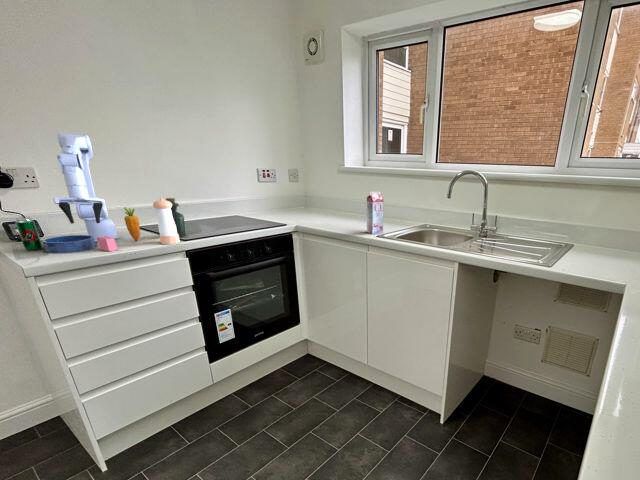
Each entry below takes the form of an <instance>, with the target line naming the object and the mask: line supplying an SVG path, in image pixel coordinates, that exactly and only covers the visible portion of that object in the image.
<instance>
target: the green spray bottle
mask: <svg viewBox="0 0 640 480" xmlns="http://www.w3.org/2000/svg"><path fill="white" fill-rule="evenodd" d="M165 200H166V201H169V202H171V203H172V208H171V212H172V217H173V220H174V222H175V225H176V229H177V234H178V235H179V239H182V238H185V237H186V236H187V234H186V225H185V224H186V223H185V216H184V215H183V214H182V213H180V212H178V211H177V209H178V207H179V206H180V204H179V202H176V198H175V197H166V198H165Z"/></svg>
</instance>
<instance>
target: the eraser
mask: <svg viewBox="0 0 640 480" xmlns="http://www.w3.org/2000/svg"><path fill="white" fill-rule="evenodd" d="M97 239H98V241H97V242H98V246H99V248H100V250H101V251H104V252H115V251H118V246H117V242H116V239H114V238H112V237H107V236H103V237H97Z"/></svg>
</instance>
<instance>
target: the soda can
mask: <svg viewBox="0 0 640 480" xmlns="http://www.w3.org/2000/svg"><path fill="white" fill-rule="evenodd" d="M15 226H16V228H17V231H18V234H19V237H20V239H21V242H22V246H23V247H24V250H25V251H29V252H33V251H40V250H42V249H44V245H43V242H42V241H41V238H40V235H39V232H38V228H37V225H36V224H35V221H34V220H33V218H31V217H24V218H22V217H21V218H16V219H15Z"/></svg>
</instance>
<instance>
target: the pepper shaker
mask: <svg viewBox="0 0 640 480" xmlns="http://www.w3.org/2000/svg"><path fill="white" fill-rule="evenodd" d="M152 207H153V208H154V209H155V211H156V215H157V228H158V231H159V236H158V237H159V241H160V244H161V245H173V244H174V245H175V244H180V242H181V240H180V238H179V235H178V234H177V229H176V225H175V222H174V220H173V217H172V212H171V208H172V203H171V202H169V201H166V199H165V200H164V198H163V197H162V198H161V197H160V198H159V199H158V200H154V202H152Z"/></svg>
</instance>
